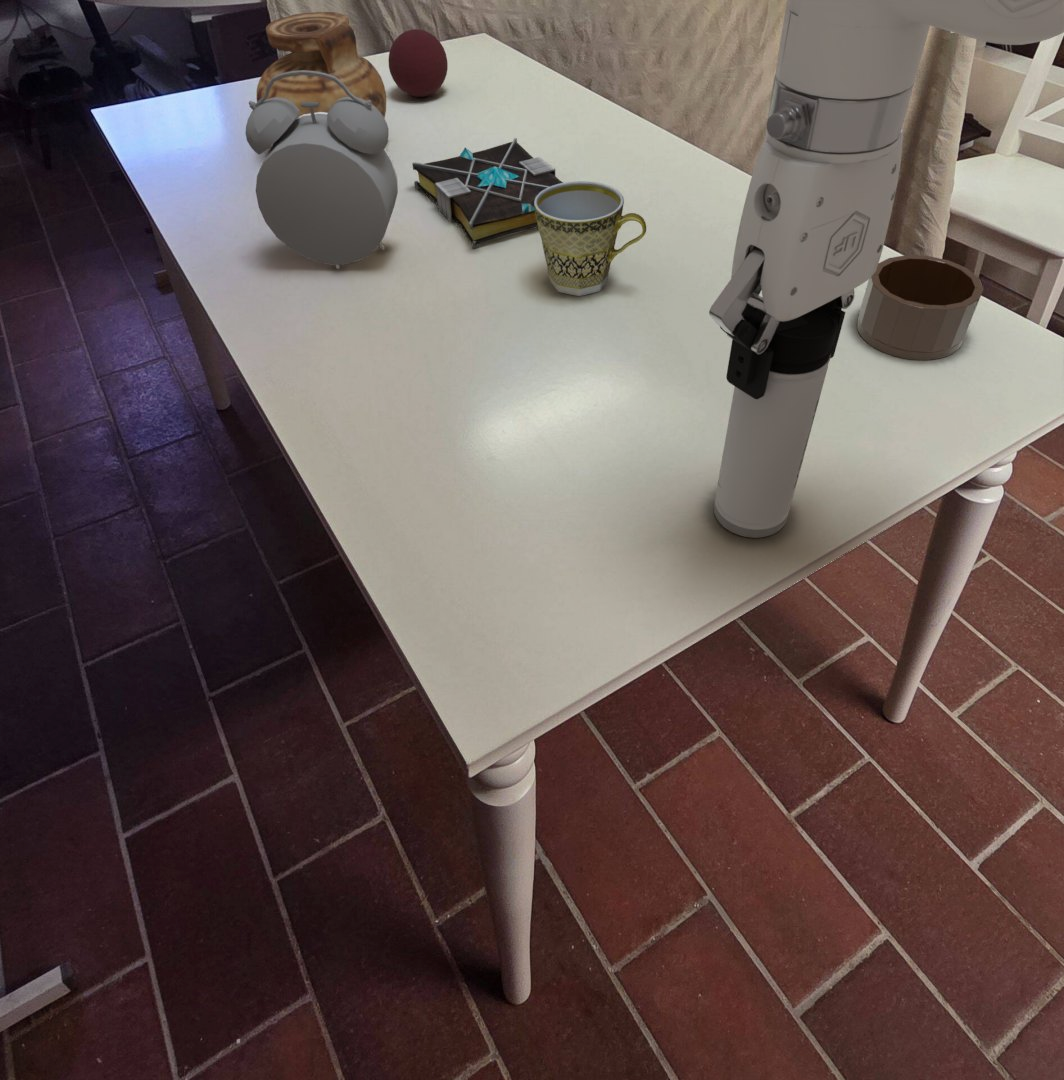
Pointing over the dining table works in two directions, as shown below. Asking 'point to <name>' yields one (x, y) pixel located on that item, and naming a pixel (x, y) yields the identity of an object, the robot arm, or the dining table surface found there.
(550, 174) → the book
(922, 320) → the holder
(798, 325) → the travel mug
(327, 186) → the alarm clock
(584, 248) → the ceramic cup
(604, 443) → the dining table surface
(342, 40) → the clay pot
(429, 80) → the decorative ball
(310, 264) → the dining table surface
